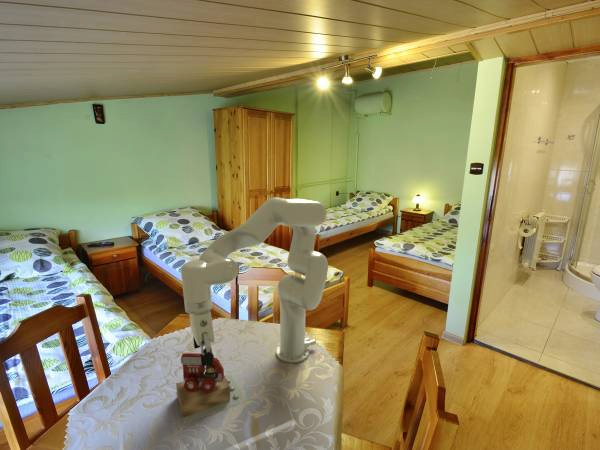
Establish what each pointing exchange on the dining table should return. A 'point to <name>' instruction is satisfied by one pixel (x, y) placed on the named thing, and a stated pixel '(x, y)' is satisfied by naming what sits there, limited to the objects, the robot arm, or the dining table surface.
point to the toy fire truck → (200, 373)
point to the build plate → (234, 400)
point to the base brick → (201, 397)
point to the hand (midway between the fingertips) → (203, 355)
